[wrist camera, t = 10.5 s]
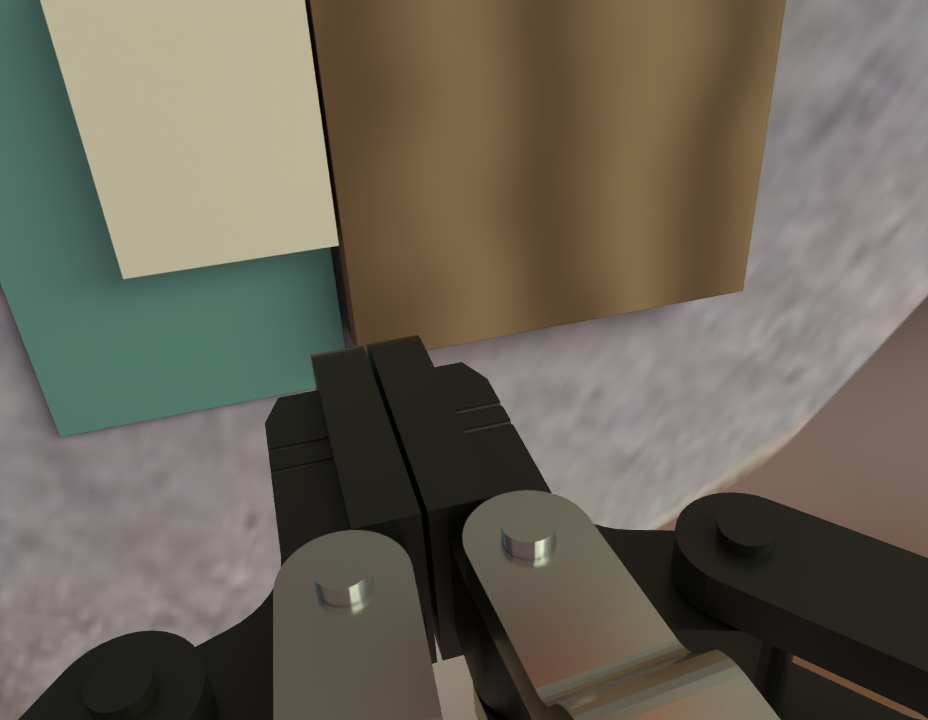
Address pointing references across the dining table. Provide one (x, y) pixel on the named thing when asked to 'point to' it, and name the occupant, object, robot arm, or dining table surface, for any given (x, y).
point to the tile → (198, 127)
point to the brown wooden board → (539, 157)
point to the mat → (133, 299)
